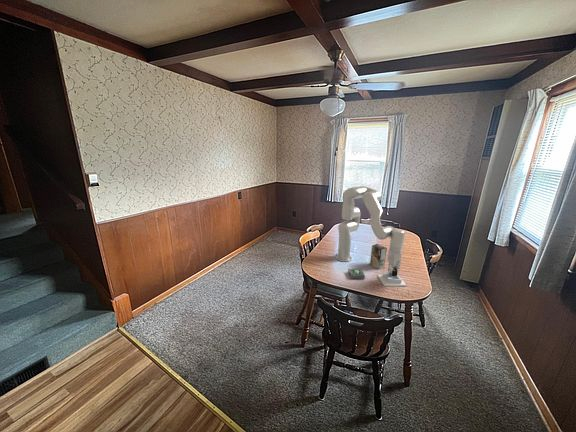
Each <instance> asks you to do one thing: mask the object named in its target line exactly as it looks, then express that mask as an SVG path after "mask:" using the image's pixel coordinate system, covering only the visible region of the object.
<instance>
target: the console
mask: <svg viewBox="0 0 576 432" xmlns="http://www.w3.org/2000/svg"><path fill="white" fill-rule="evenodd" d="M354 270H358V271H359V274H354ZM347 273H348V275H349V278H350V279H351V280H365V278H366V275H365V273H364V271H363V270H362V269H361V268H348V270H347Z"/></svg>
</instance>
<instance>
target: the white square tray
mask: <svg viewBox="0 0 576 432" xmlns="http://www.w3.org/2000/svg"><path fill="white" fill-rule="evenodd" d="M377 277H378V279H379V280H380V282H381V284H383V286H385V287H386V286H387V287H406V286H407V284H406V283H405V281H404V280H403V279H402V278H401V277H400V275H398V274H397V276H396V277H391V276H389V275H388V272H382V274H377Z"/></svg>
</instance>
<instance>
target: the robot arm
mask: <svg viewBox="0 0 576 432" xmlns="http://www.w3.org/2000/svg"><path fill="white" fill-rule="evenodd" d="M342 199H343V200H342V201H343V202H342V209H341V218H342V220H344V221H341V222H340V223H339V224H338V228H337V229H338V246H337V254H336V255H335V259H336V260H337V261H339V262H344V263H345V262H351V261H352V260H353V259H352V256H351V255H350V254H351V247H352V236H351V233H353V232H356V231H357V230H359V227H360V221H361V215H362V213H361V210H360V208H359V207H358V206H355V205H356V204H355V200H357V199H362V200H363V203H364V205H365V206H366V209H367V211H368V213H369V216H370V228H371V230H372V231H373V233H374V236H375V237H376V238H377V239H378V240H381V241H383V240H387V239H389V238H390V242H389V249H388V252H387V256H386V257H387V258H386V261H387V263H388V265H389V264H390V265H391V266H392V267H393V270H392V276H397V275H398V272H399V270H401V263H402V252H403V246H404V241H405V231H404V230H403V229H399V228H397V227H394V226H391V225H387V226H386V225H385V226H382V223H381V216H382V214H383V212H384V210H383V208H382V206H381V204H380V201H381V200H382V194H381V192H380V191H379V190H376V189H373V188H371V187H368V186H365V185H362V186H353V187H349V188H347V189H346V190H345V191H344V192H343V195H342ZM395 267H397V268H395ZM388 272H389V267H388Z"/></svg>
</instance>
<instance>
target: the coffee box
mask: <svg viewBox="0 0 576 432" xmlns="http://www.w3.org/2000/svg"><path fill="white" fill-rule="evenodd" d="M370 251H371V253H370V261H369V264H370V266H372V267H374V268H376V269H378V270H382V269H384V268H385V266H386V260H387V258H386V257H387V251H388V247H386V246H383V245H380V244H379V243H376V244H373V245H371V250H370Z"/></svg>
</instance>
